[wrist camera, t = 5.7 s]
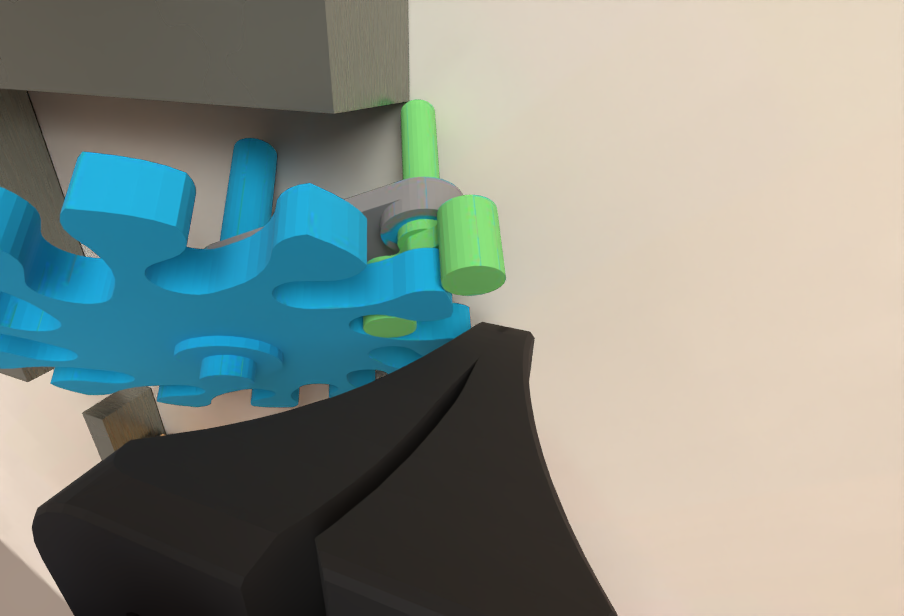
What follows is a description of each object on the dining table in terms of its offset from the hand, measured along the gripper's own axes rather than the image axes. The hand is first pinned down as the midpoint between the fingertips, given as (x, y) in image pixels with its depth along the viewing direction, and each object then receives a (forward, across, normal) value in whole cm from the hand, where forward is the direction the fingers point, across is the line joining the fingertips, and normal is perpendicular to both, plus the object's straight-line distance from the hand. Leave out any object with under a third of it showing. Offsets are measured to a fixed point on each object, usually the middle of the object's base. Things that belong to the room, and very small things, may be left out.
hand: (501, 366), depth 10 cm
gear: (+2, +5, -1) cm, 5 cm away
